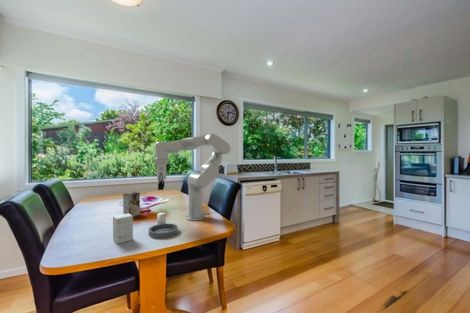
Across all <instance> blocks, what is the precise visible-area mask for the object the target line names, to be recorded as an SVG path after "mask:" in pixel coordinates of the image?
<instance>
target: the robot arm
mask: <svg viewBox="0 0 470 313" xmlns="http://www.w3.org/2000/svg"><path fill="white" fill-rule="evenodd" d="M154 147H155V148H154V149H155V150H154V151H155V152H154V159H155V160H154V163H155V164H156V174H157V180H158V183H157V190H158V191H164V188H165V180H166V179H167V164H169V163H168V162H169V161H168V160H169V159H168V158H169V154H178V153H180V152H181V151H193V150H198V149H202V148H206V147H207V148H208V147H211V148H212V149H211V151H212V152H211V156H210V157H209V159H207V160H206V161H205V162H204V163H203V164H202V165H201V166H200V167H199V173H198V172H191V173H190V174H189V175H188V177H187V185H188V186H187V187H188V188H187V189H188V214H187V215H186V220H188V221H195V222H196V221H201V220H204V219H206V218H205V216H209V215H210V212H209V211H208V212H207V211H204V210H203V192H204V191H203V189H205V188H206V187H207V186H209V185H210V184H211V183H212V182H213V181H214V180H215V179H216V178H217V177H218V175H219V172H220V168H219V166H220V165H221V163H222V161H223V160H222V159H223V155H228V154H230V152H231V145H230V143H229V142H227V141H225V139H223V138H221V137H220V136H219V135H217V134H215V133H207V134H206V133H205V134H201V135H196V136H195V135H194V136H191V137H186V138H183V139H177V140H174V141H168V142H167V141H156V142H155V146H154Z"/></svg>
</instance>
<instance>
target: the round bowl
mask: <svg viewBox="0 0 470 313" xmlns="http://www.w3.org/2000/svg"><path fill="white" fill-rule="evenodd" d="M147 231H148V232H147V233H148V237H150V238H152V239H161V240H162V239H168V238H172V237H174V236H176V235H178V233H179V226H178V225H177V224H175V223H169V222H168V223H167V222H166V223H165V224H158V225H157V224H155V225H151V227H148V230H147Z"/></svg>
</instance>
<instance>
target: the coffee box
mask: <svg viewBox="0 0 470 313" xmlns="http://www.w3.org/2000/svg"><path fill="white" fill-rule="evenodd" d="M140 194H141V193H140V192H136V191H132V192H128V193H122V202H123V207H122V210H123V213H122V214H128V213H129V214H131V215H132V216H133V217H135V216H140V214H141V200H140V199H141V198H140V196H141V195H140Z"/></svg>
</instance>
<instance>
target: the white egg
mask: <svg viewBox="0 0 470 313" xmlns="http://www.w3.org/2000/svg"><path fill="white" fill-rule="evenodd" d="M166 216H167V214H166V212H158V213H157V219H156V220H157V222H156V225H158V224H165V223H167V222H166V220H167V217H166Z"/></svg>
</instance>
